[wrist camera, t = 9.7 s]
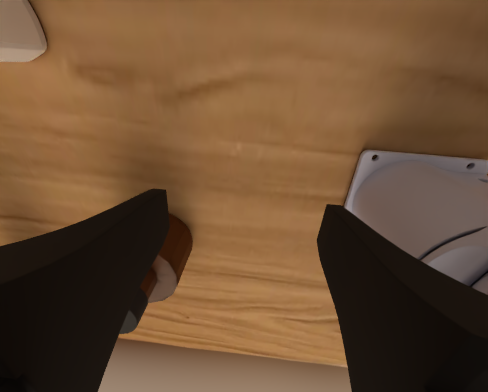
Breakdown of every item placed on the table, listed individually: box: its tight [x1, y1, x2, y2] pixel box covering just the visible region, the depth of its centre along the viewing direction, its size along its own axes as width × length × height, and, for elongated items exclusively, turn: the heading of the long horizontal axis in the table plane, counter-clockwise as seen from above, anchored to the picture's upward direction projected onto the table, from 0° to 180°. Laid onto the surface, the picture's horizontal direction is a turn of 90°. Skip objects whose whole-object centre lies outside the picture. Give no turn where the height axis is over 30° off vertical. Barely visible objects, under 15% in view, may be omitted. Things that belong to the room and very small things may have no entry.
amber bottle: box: [140, 214, 192, 303], centre depth 21 cm, size 7×7×7 cm
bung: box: [119, 287, 148, 334], centre depth 18 cm, size 4×4×3 cm
